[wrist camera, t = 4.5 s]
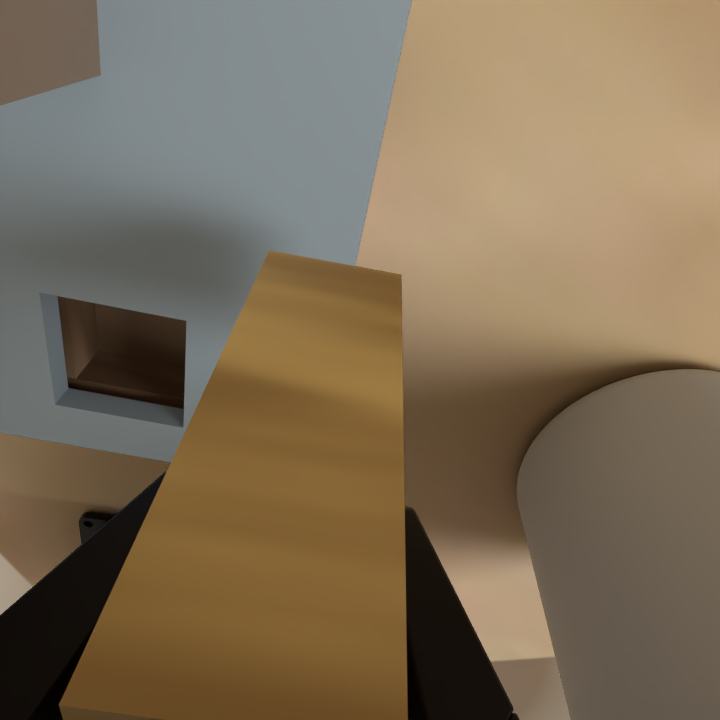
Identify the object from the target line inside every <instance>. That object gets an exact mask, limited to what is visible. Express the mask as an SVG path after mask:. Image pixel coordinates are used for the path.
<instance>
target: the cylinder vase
mask: <svg viewBox="0 0 720 720" xmlns="http://www.w3.org/2000/svg"><path fill="white" fill-rule="evenodd" d="M517 502H518V507H519V511H520V515H521V519H522V523H523V528H524V532H525V536H526V540H527V544H528V548H529V552H530V556H531V560H532V564H533V568H534V572H535V576H536V580H537V584H538V588H539V592H540V596H541V601H542V605H543V609H544V613H545V617H546V621H547V625H548V629H549V633H550V637H551V641H552V645H553V649H554V653H555V657H556V661H557V665H558V669H559V673H560V678H561V682H562V686H563V689H564V693H565V698H566V702H567V705H568V710H569V714H570V718H571V720H720V372H718V371H711V370H700V369H677V370H665V371H657V372H651V373H646V374H641V375H637V376H633V377H630V378H626V379H623V380H620V381H617V382H614V383H612V384H609V385H607V386H604V387H602V388H600V389H598V390H596V391H594V392H592V393H590V394H588V395H586V396H584V397H582V398H581V399H579V400H577V401H576V402H574V403H573V404H571V405H570V406H568V407H567V408H566V409H564V410H563V411H562V412H560V413H559V414H558V415H557V416H556V417H555V418H553V419H552V420H551V421H550V422H549V423H548V424H547V425H546V426H545V427H544V428H543V430H542V431H541V432H540V433H539V434H538V436H537V437H536V438H535V440H534V441H533V442H532V444H531V446H530V447H529V449H528V451H527V453H526V455H525V457H524V459H523V461H522V464H521V467H520V470H519V474H518V480H517Z"/></svg>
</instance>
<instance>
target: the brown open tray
mask: <svg viewBox="0 0 720 720" xmlns="http://www.w3.org/2000/svg"><path fill="white" fill-rule="evenodd" d="M57 297H58V306H59V314H60V323H61V331H62V340H63V348H64V356H65V365H66V373H67V382H68V388H70V389H76V390H81V391H87V392H92V393H98V394H103V395H109V396H114V397H120V398H125V399H131V400H136V401H142V402H147V403H153V404H158V405H164V406H169V407H175V408H180V409H184V390H185V355H186V321H184V320H179V319H174V318H169V317H164V316H158V315H153V314H148V313H143V312H138V311H133V310H127V309H122V308H117V307H112V306H107V305H102V304H96V303H91V302H86V301H81V300H76V299H71V298H65V297H60V296H57Z"/></svg>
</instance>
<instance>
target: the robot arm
mask: <svg viewBox="0 0 720 720" xmlns="http://www.w3.org/2000/svg"><path fill="white" fill-rule="evenodd" d="M166 472H167V471H166ZM166 472H165V473H164V474H162V475H161V476H160V477H159V478H158V479H157V480H155V481H154V482H153V483H152V484H151V485H150V486H149V487H147V488H146V489H145V490H144V491H143V492H142V493H140V494H139V495H138V496H137V497H136V498H135V499H134V500H132V501H131V502H130V503H129V504H128V505H127V506H126V507H124V508H123V509H122V510H121V511H120V512H119V513H117V514H116V515H115V516H112V515H106V514H100V513H94V512H85V513H84V514H83V515H82V517H81V518H80V520H79V527H80V535H81V543H82V545H81V546H79V547H78V548H77V549H76V550H75V551H74V552H73V553H71V554H70V555H69V556H68V557H67V558H66V559H64V560H63V561H62V562H61V563H60V564H59V565H58V566H56V567H55V568H54V569H53V570H52V571H51V572H50V573H48V574H47V575H46V576H45V577H44V578H43V579H41V580H40V581H39V582H38V583H37V584H36V585H35V586H33V587H32V588H31V589H30V590H29V591H28V592H27V593H25V594H24V595H23V596H22V597H21V598H20V599H19V600H17V601H16V602H15V603H14V604H13V605H12V606H10V607H9V608H8V609H7V610H6V611H5V612H3V613H2V614H1V615H0V720H63V718H62V714H61V711H60V708H59V703H60V701H61V699H62V697H63V695H64V693H65V690H66V688H67V686H68V684H69V682H70V680H71V678H72V675H73V673H74V671H75V669H76V667H77V665H78V662H79V660H80V658H81V656H82V654H83V652H84V649H85V647H86V645H87V643H88V641H89V639H90V636H91V634H92V632H93V630H94V628H95V626H96V623H97V621H98V619H99V617H100V615H101V613H102V611H103V608H104V606H105V604H106V602H107V600H108V598H109V595H110V593H111V591H112V589H113V587H114V585H115V582H116V580H117V578H118V576H119V574H120V572H121V569H122V567H123V565H124V563H125V561H126V559H127V556H128V554H129V552H130V550H131V548H132V546H133V543H134V541H135V539H136V537H137V535H138V533H139V531H140V528H141V526H142V524H143V522H144V520H145V518H146V515H147V513H148V511H149V509H150V507H151V505H152V502H153V500H154V498H155V496H156V494H157V492H158V489H159V487H160V485H161V483H162V481H163V479H164V476H165V474H166ZM405 563H406V633H407V703H408V720H519V717H518V715H517V714H516V713H512V712H513V706H512V704H511V702H510V700H509V698H508V696H507V694H506V692H505V690H504V688H503V686H502V684H501V682H500V680H499V678H498V676H497V674H496V672H495V670H494V668H493V666H492V664H491V662H490V660H489V658H488V656H487V654H486V652H485V650H484V648H483V646H482V644H481V642H480V640H479V638H478V636H477V634H476V632H475V630H474V628H473V626H472V624H471V622H470V620H469V618H468V616H467V614H466V612H465V610H464V608H463V606H462V604H461V602H460V600H459V598H458V596H457V594H456V592H455V590H454V588H453V586H452V584H451V582H450V580H449V578H448V576H447V574H446V572H445V570H444V568H443V566H442V564H441V562H440V560H439V558H438V556H437V554H436V552H435V550H434V548H433V546H432V544H431V542H430V540H429V538H428V536H427V534H426V532H425V530H424V528H423V526H422V524H421V522H420V520H419V518H418V516H417V514H416V512H415V510H414V509H413V508H411V507H408V506H405Z"/></svg>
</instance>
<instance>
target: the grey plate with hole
mask: <svg viewBox="0 0 720 720" xmlns="http://www.w3.org/2000/svg"><path fill="white" fill-rule="evenodd" d="M411 2H412V0H0V433H4V434H10V435H15V436H21V437H27V438H33V439H38V440H44V441H50V442H56V443H61V444H67V445H73V446H79V447H84V448H90V449H96V450H101V451H107V452H113V453H119V454H124V455H130V456H136V457H142V458H147V459H153V460H159V461H164V462H170V463H171V461H172V459H173V457H174V455H175V453H176V451H177V448H178V446H179V444H180V442H181V440H182V438H183V435H184V433H185V431H186V429H187V427H188V425H189V422H190V420H191V418H192V416H193V414H194V412H195V409H196V407H197V405H198V403H199V401H200V399H201V396H202V394H203V392H204V390H205V388H206V386H207V384H208V381H209V379H210V377H211V375H212V373H213V371H214V368H215V366H216V364H217V362H218V360H219V358H220V355H221V353H222V351H223V349H224V347H225V345H226V342H227V340H228V338H229V336H230V334H231V332H232V329H233V327H234V325H235V323H236V321H237V319H238V317H239V314H240V312H241V310H242V308H243V306H244V304H245V301H246V299H247V297H248V295H249V293H250V291H251V288H252V286H253V284H254V282H255V280H256V278H257V275H258V273H259V271H260V269H261V267H262V265H263V262H264V260H265V258H266V256H267V254H268V252H269V250H271V251H277V252H282V253H287V254H293V255H298V256H303V257H309V258H314V259H320V260H325V261H330V262H336V263H341V264H346V265H352V266H355V265H356V260H357V255H358V251H359V246H360V241H361V237H362V232H363V227H364V223H365V218H366V213H367V208H368V204H369V199H370V194H371V190H372V185H373V180H374V176H375V171H376V166H377V162H378V157H379V152H380V147H381V143H382V138H383V133H384V129H385V124H386V119H387V115H388V110H389V105H390V101H391V96H392V91H393V86H394V82H395V77H396V72H397V68H398V63H399V58H400V54H401V49H402V44H403V40H404V35H405V30H406V25H407V21H408V16H409V11H410V7H411ZM57 296H60V297H65V298H71V299H76V300H81V301H86V302H91V303H96V304H102V305H107V306H112V307H117V308H122V309H127V310H133V311H138V312H143V313H148V314H153V315H158V316H164V317H169V318H174V319H179V320H184V321H186V355H185V390H184V409H180V408H175V407H169V406H164V405H158V404H153V403H147V402H142V401H136V400H131V399H125V398H120V397H114V396H109V395H103V394H98V393H92V392H87V391H81V390H76V389H70V388H68V382H67V373H66V365H65V356H64V348H63V340H62V331H61V323H60V314H59V306H58V297H57Z"/></svg>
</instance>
